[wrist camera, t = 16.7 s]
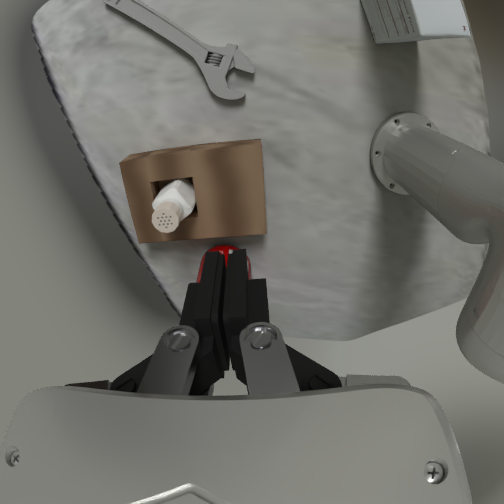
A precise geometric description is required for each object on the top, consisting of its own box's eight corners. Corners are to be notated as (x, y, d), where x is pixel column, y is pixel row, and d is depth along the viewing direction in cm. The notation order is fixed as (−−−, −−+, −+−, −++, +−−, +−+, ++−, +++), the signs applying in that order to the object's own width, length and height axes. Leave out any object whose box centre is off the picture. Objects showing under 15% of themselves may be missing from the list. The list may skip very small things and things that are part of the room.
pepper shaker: (183, 170, 39) (166, 197, 31) (201, 192, 41) (189, 224, 33) (161, 187, 40) (141, 217, 32) (179, 208, 42) (163, 242, 34)
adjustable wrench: (103, 2, 25) (98, -1, 24) (136, -31, 23) (131, -35, 22) (229, 106, 35) (228, 107, 34) (266, 73, 33) (267, 73, 31)
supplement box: (403, -4, 25) (454, -21, 14) (417, 42, 29) (473, 39, 18) (357, -4, 26) (399, -28, 15) (373, 44, 30) (422, 37, 19)
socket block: (260, 139, 37) (261, 145, 34) (265, 220, 44) (266, 233, 40) (129, 154, 38) (119, 162, 34) (146, 230, 44) (139, 243, 41)
